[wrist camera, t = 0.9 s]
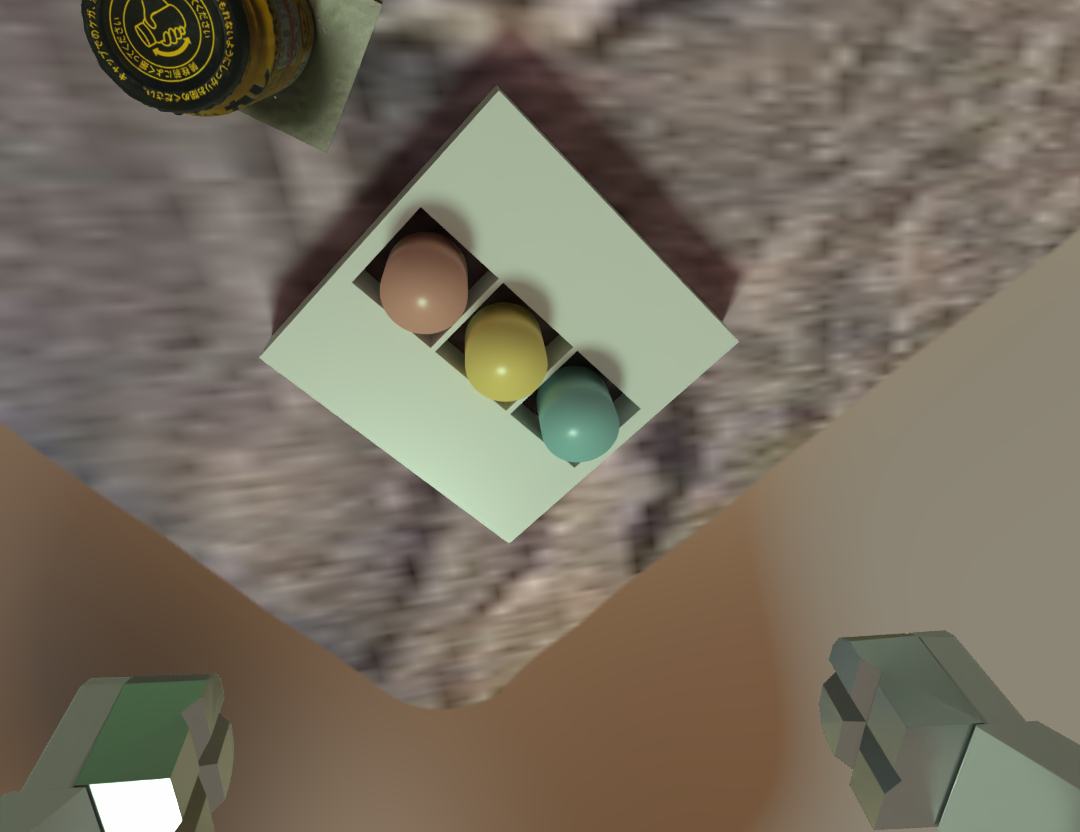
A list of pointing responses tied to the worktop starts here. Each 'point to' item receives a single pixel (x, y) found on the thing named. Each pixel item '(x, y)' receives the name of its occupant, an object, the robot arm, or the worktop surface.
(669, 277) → the panel
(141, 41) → the condiment
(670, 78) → the worktop surface
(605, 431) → the button teal
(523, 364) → the button mustard
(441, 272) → the salmon brown ball
